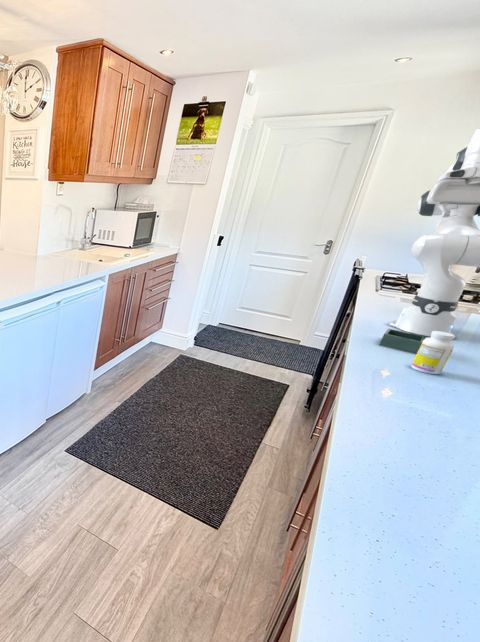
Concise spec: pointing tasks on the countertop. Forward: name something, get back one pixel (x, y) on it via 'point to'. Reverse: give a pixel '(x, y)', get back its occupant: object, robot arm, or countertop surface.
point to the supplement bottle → (433, 353)
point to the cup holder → (402, 341)
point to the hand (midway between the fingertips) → (465, 217)
